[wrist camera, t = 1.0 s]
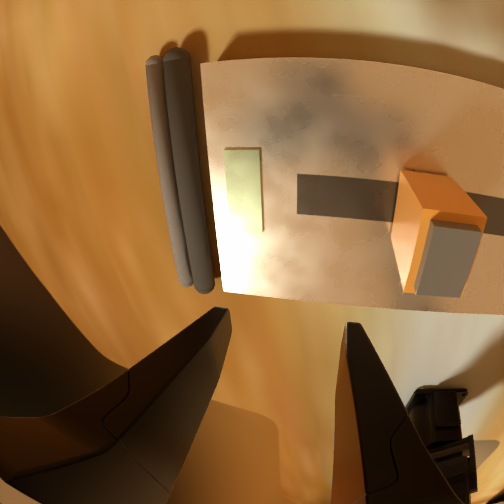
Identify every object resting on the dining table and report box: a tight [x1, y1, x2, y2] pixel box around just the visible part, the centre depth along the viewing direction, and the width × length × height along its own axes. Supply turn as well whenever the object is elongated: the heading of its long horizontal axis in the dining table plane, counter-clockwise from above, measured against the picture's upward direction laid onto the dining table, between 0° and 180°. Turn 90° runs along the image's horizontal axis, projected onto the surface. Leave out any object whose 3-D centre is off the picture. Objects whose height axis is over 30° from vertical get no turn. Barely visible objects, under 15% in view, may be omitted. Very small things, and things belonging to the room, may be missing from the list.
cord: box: [146, 48, 215, 294], centre depth 20 cm, size 18×3×2 cm, turn 3°
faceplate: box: [200, 57, 504, 315], centre depth 16 cm, size 15×24×2 cm, turn 93°
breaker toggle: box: [391, 170, 487, 298], centre depth 13 cm, size 4×3×6 cm
